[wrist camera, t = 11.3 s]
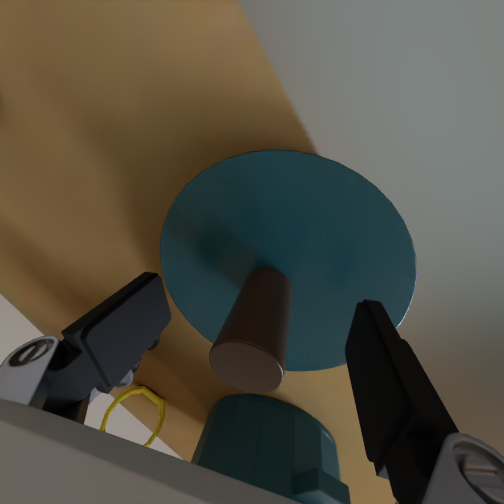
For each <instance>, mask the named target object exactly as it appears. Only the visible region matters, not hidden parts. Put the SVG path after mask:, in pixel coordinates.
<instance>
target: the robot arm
mask: <svg viewBox="0 0 504 504" xmlns="http://www.w3.org/2000/svg"><path fill="white" fill-rule="evenodd" d="M170 320H171V313H170V309H169V306H168V302H167V298H166V294H165V291H164V287H163V283H162V279H161V277H160V276H159V275H158V274H157V273H152V272H144V273H142V274H141V275H140V276H138V277H137V278H135V279H134V280H133V281H131V282H130V283H128V284H127V285H126V286H124V287H123V288H121V289H120V290H119V291H117V292H116V293H114V294H113V295H112V296H110V297H109V298H108V299H106V300H105V301H103V302H102V303H101V304H99V305H98V306H96V307H95V308H94V309H92V310H91V311H89V312H88V313H87V314H85V315H84V316H82V317H81V318H80V319H78V320H77V321H75V322H74V323H73V324H71V325H70V326H68V327H67V328H66V329H64V330H63V331H61V333H62V335H63V336H64V338H65V339H63V340H62V341H60V339H59V338H58V336H55V335H46V336H42V337H39V338H36V339H33V340H31V341H29V342H27V343H25V344H23V345H22V346H21V347H18V348H17V349H16V350H14V351H13V352H12V353H11V354H9V355H8V357H7V358H6V359H5V360H4V361H3V363H2V364H1V365H0V504H302V503H299V502H297V501H294V500H291V499H289V498H286V497H283V496H281V495H278V494H275V493H272V492H270V491H267V490H264V489H261V488H259V487H256V486H253V485H250V484H248V483H245V482H242V481H240V480H237V479H234V478H231V477H229V476H226V475H223V474H220V473H218V472H215V471H212V470H209V469H207V468H204V467H201V466H198V465H196V464H193V463H190V462H187V461H185V460H182V459H179V458H176V457H173V456H171V455H168V454H165V453H162V452H159V451H157V450H154V449H151V448H148V447H146V446H143V445H140V444H137V443H134V442H132V441H129V440H126V439H123V438H120V437H117V436H115V435H112V434H109V433H106V432H104V431H101V430H98V429H95V428H92V427H89V426H86V425H84V421H85V417H86V412H87V409H88V404H89V400H90V396H91V391H92V390H93V389H94V388H96V389H97V391H99V392H103V393H106V394H108V393H109V392H110V391H111V390H112V389H113V387H114V386H117V385H118V384H119V383H120V382H121V381H122V380H123V378H124V377H125V376H126V375H127V373H128V372H129V371H130V370H131V369H132V367H133V366H134V365H135V364H136V362H137V361H138V360H139V359H140V358H141V356H142V355H143V354H144V353H145V351H146V350H147V349H148V348H149V347H150V345H151V344H152V343H153V342H154V340H155V339H156V338H157V337H158V336H159V334H160V333H161V332H162V331H163V329H164V328H165V327H166V326H167V325H168V323H169V322H170ZM345 357H346V362H347V367H348V371H349V376H350V381H351V385H352V390H353V395H354V399H355V404H356V409H357V413H358V418H359V423H360V427H361V432H362V437H363V441H364V446H365V451H366V455H367V458H368V460H369V461H370V462H373V463H374V466H375V470H376V475H377V476H379V477H382V478H385V479H389V481H390V485H391V489H392V492H393V496H394V497H395V499H396V503H395V504H504V456H503V455H502V454H501V453H499V452H498V451H497V450H496V449H494V448H493V447H491V446H490V445H488V444H486V443H485V442H483V441H482V440H480V439H478V438H475V437H473V436H470V435H468V434H463V433H459V431H458V429H457V427H456V425H455V424H454V422H453V420H452V418H451V417H450V415H449V413H448V412H447V410H446V408H445V406H444V405H443V403H442V401H441V399H440V397H439V396H438V394H437V392H436V390H435V389H434V387H433V385H432V383H431V382H430V380H429V378H428V376H427V375H426V373H425V371H424V370H423V368H422V366H421V364H420V362H419V361H418V359H417V357H416V355H415V354H414V352H413V350H412V348H411V347H410V345H409V344H408V342H407V341H405V340H404V339H401V338H400V336H399V334H398V332H397V330H396V328H395V327H394V325H393V323H392V321H391V319H390V317H389V316H388V314H387V312H386V310H385V308H384V306H383V305H382V303H381V302H380V301H374V300H366V299H364V300H363V301H362V302H358V303H357V306H356V309H355V313H354V317H353V320H352V324H351V327H350V331H349V334H348V338H347V342H346V345H345Z"/></svg>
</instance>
